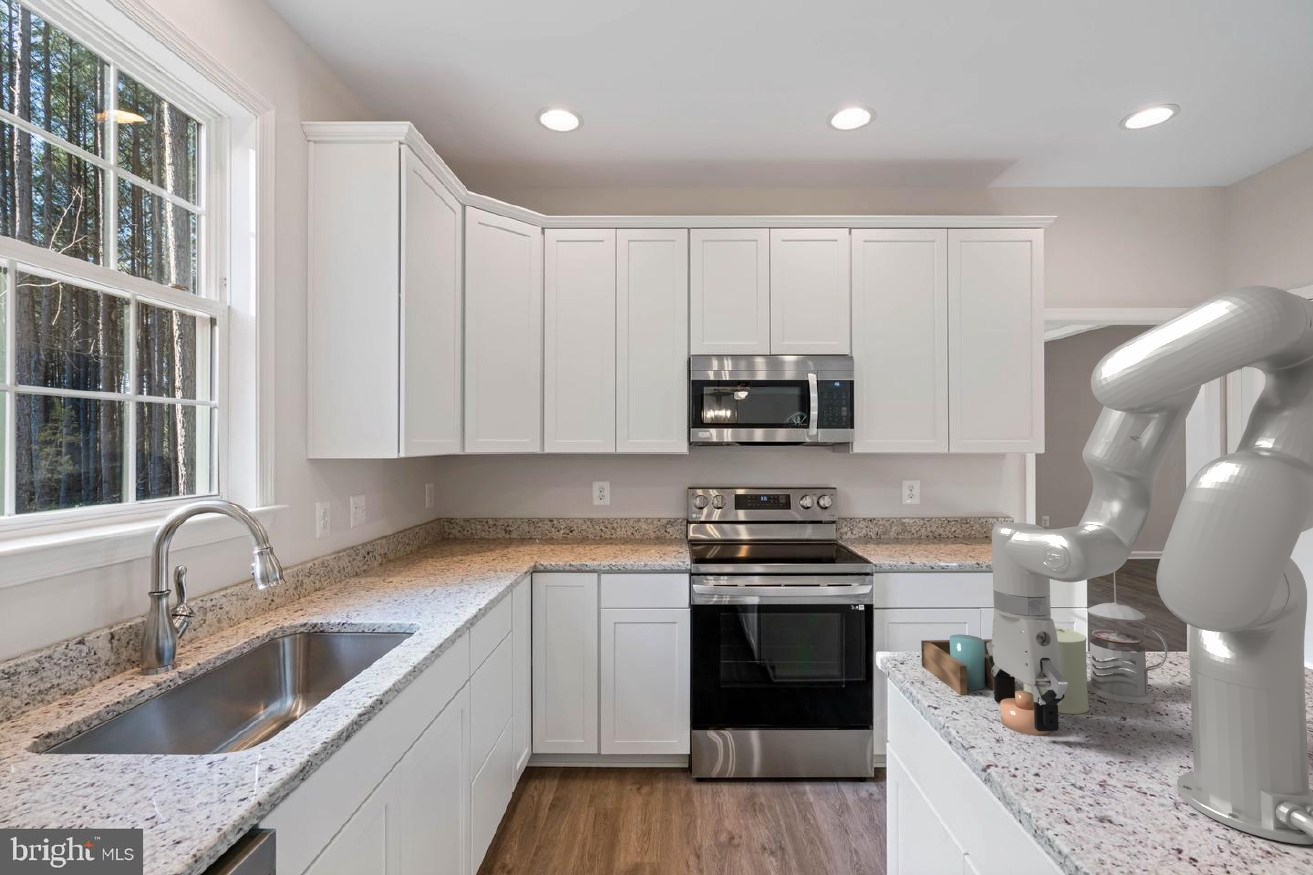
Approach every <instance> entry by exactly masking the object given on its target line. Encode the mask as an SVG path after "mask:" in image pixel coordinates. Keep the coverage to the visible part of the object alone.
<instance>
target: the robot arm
mask: <svg viewBox="0 0 1313 875" xmlns="http://www.w3.org/2000/svg"><path fill="white" fill-rule="evenodd" d="M1245 367H1246V368H1253V369H1257V370H1260V371H1261V372H1262V373H1263V374H1264V377H1265V378H1264V379H1265V382H1264V387H1263V388H1262V391H1261V392H1260V394H1259V396H1258V398H1257V400H1256V401H1255V403H1254V405H1253V407H1252V409H1251V411H1250V413H1249V417H1248V421H1247V424H1246V426H1245V429H1244V432H1243V434H1242V436H1241V439H1240V441H1239V443H1238V446H1237V448H1236V450H1235V452H1231V453H1228V454H1225V455H1222V456H1219V457H1217V458H1215V459H1213V460H1210V462H1208V463H1206V464H1204V466H1202V467H1201V468H1200V469H1199V470H1198V471H1197V472H1196V473H1195V475H1194V476H1193V477H1192V479H1191V480H1190V482H1189V483H1188V485H1187V488H1186V489H1185V491H1184V494H1183V495H1182V496H1183V497H1182V499H1181V501H1180V504H1179V507H1178V510H1177V512H1176V516H1175V518H1174V520H1173V523H1172V526H1171V529H1170V532H1169V534H1168V536H1167V540H1166V542H1165V546H1164V548H1163V550H1162V554H1161V556H1160V559H1159V562H1158V567H1157V569H1156V570H1157V571H1156V588H1157V592H1158V595H1159V597H1160V599H1161V600H1162V603H1163V604H1164V605H1165V606H1166V608H1167V609H1168V610H1169V611H1170V613H1172V614H1173V615H1174V616H1175V617H1176V618H1177V619H1179V620H1180V621H1182V622H1183V623H1185V624H1187V625H1189V626H1190V630H1189V640H1188V641H1189V644H1188V645H1189V647H1188V649H1189V650H1188V651H1189V653H1188V654H1189V655H1188V656H1189V677H1190V678H1189V681H1190V683H1189V684H1190V687H1189V688H1190V706H1191V707H1190V708H1191V712H1190V713H1191V732H1192V734H1191V736H1192V737H1191V738H1192V757H1193V758H1192V759H1193V762H1192V763H1193V771H1190V772H1185V773H1184V774H1181V775H1179V777H1178V778H1177V781H1176V782H1177V786H1176V787H1177V792H1178V794H1179V795H1180V797H1181V798H1182V799H1183V800H1185V801H1186V802H1187V804H1188V805H1190V806H1191V807H1193V808H1194V809H1196V810H1197V811H1198V812H1200V813H1201V814H1204V815H1205V816H1207V817H1209V818H1211V819H1213V820H1215V821H1217V822H1219V823H1221V824H1224V825H1226V826H1228V827H1231V828H1234V829H1235V830H1239V831H1242V832H1245V833H1248V834H1251V835H1254V836H1258V837H1261V838H1265V839H1268V840H1274V841H1278V842H1281V843H1282V842H1283V843H1288V844H1296V845H1313V790H1311V789H1310V773H1309V755H1308V754H1309V750H1308V729H1307V726H1308V725H1307V709H1306V706H1307V705H1306V676H1305V674H1306V673H1305V672H1306V671H1305V668H1306V667H1305V634H1306V624H1307V623H1306V622H1307V621H1306V620H1307V612H1308V611H1307V610H1308V591H1307V590H1308V588H1307V583H1306V581H1305V577H1304V574H1303V573H1302V571H1301V569H1300V567H1299V565H1297V563H1296V561H1294V560H1293V558H1292V554H1293V551H1294V550H1295V548H1296V544H1298V540H1299V538H1300V536H1301V533H1303V532H1306V531H1308V530H1311V529H1313V301H1312V300H1310V299H1308V298H1306V297H1304V296H1301V295H1298V294H1294V293H1292V292H1289V291H1287V290H1284V289H1282V288H1278V287H1275V286H1274V287H1273V286H1267V285H1246V286H1239V287H1235V288H1232V289H1229V290H1226V291H1223V292H1220V293H1218V294H1215V295H1213V296H1211V297H1208V298H1207V299H1204V300H1203V301H1201V302H1199V303H1197V304H1195V305H1193V306H1191V307H1189V308H1187V309H1185V310H1183V311H1182V312H1180V313H1178V314H1176V315H1175V316H1172V317H1170V318H1168V319H1167V320H1166V321H1163V322H1161V323H1159V324H1157V325H1155V326H1154V327H1152V328H1150V329H1148V330H1146V331H1144V332H1142V333H1140V334H1138V335H1137V336H1134V337H1132V338H1131V339H1129V340H1127V341H1125V342H1123V343H1122V344H1120V345H1118V346H1117V347H1115V348H1113V349H1111V351H1109V352H1108V353H1106V354H1105V355H1104V356H1103V357H1102V358H1101V359H1100V360H1099V361H1098V363H1097V364H1096V366H1095V367H1094V369H1093V371H1092V373H1091V377H1090V388H1091V391H1092V394H1093V396H1094V397H1095V399H1096V400H1097V401H1098V402H1099V403H1100V404H1101V405H1102V406H1103V407H1102V409H1101V412H1100V414H1099V415H1098V418H1097V420H1096V423H1095V425H1094V427H1093V429H1092V431H1091V432H1090V435H1089V437H1088V439H1087V441H1086V443H1085V446H1084V448H1083V450H1082V454H1081V456H1082V459H1083V462H1084V464H1085V465H1086V468H1087V469H1088V471H1089V472H1090V475H1091V477H1092V484H1093V485H1092V493H1091V497H1090V499H1089V502H1088V504H1087V507H1086V509H1085V511H1084V514H1083V516H1082V518H1081V519H1080V521H1079V523H1078V525H1075V526H1070V527H1069V526H1068V527H1064V528H1063V527H1062V528H1055V529H1053V528H1051V529H1045V527H1043V526H1041V525H1038V524H1032V523H1022V522H1003V523H999V524H996V525H995V526H994V527H993V528H992V529H991V530H992V531H991V549H992V550H991V556H992V559H991V560H992V585H993V586H992V587H993V588H992V589H993V590H992V591H993V593H992V594H993V620H992V635H991V639H992V641H991V642H988V643H987V644H986V645H987V649H988V653H989V655H990V656H989V661H990V663H991V665H992V667H993V668H992V670H991V672H992V674H993V676H996V677H994V690H993V696H994V697H993V699H994V701H995V702H996V703H998V704H1001V700H1003V699H1007V698H1015V691H1016V680H1018V681H1020V682H1022V683H1023V684H1024V683H1025V684H1027V685H1029V686H1031V688H1032V690H1033V693H1034V695H1035V697H1036V699H1037V702H1034V723H1035V729H1036V730H1038V731H1050V732H1057V731H1059V729H1060V728H1059V713H1058V705H1060V704H1061V700H1062V699H1064V693H1065V691H1066V689H1067V686H1068V684H1067V682H1066V680H1065V679H1064V678H1063V677H1062V675H1061V663H1060V653H1059V645H1058V638H1057V633H1056V629H1055V627H1056V626H1055V623H1054V619H1053V618H1051V617H1052V611H1051V610H1052V609H1051V606H1052V605H1051V580H1052V581H1053V580H1054V581H1057V582H1062V583H1078V582H1083V581H1087V580H1091V579H1095V578H1099V577H1102V576H1106V575H1110V574H1112V573H1113V574H1114V572H1115V573H1116V572H1117V570H1119V569H1120V568H1121V567H1123V565H1124V564H1126V562H1127V561H1128V559H1129V557H1130V556H1131V554H1132V552H1133V551H1134V548H1135V547H1136V545H1137V543H1138V541H1139V539H1140V537H1141V536H1142V533H1143V532H1144V530H1145V528H1146V525H1147V523H1148V521H1149V518H1150V514H1151V511H1152V506H1153V500H1154V498H1155V492H1156V480H1157V477H1158V474H1159V472H1160V470H1161V468H1162V465H1163V464H1164V462H1165V460H1166V458H1167V456H1168V453H1169V452H1170V451H1171V448H1172V446H1173V444H1174V442H1175V441H1176V438H1177V436H1178V434H1179V433H1180V431H1181V429H1182V426H1183V425H1184V424H1185V421H1186V419H1187V418H1188V415H1189V414H1190V412H1191V410H1192V407H1193V405H1194V404H1195V402H1196V400H1197V398H1198V396H1199V394H1200V391H1201V388H1202V386H1203V385H1205V384H1208V383H1210V382H1212V381H1214V380H1217V379H1219V378H1221V377H1222V378H1223V376H1227V375H1228V374H1232V373H1233V372H1235V371H1237V370H1240V369H1243V368H1245ZM1036 679H1043V680H1044V681H1036ZM1040 687H1046V689H1047V692H1046V693H1044V694H1043V693H1042V691H1041V689H1040Z"/></svg>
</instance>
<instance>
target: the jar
mask: <svg viewBox="0 0 1313 875" xmlns="http://www.w3.org/2000/svg"><path fill="white" fill-rule="evenodd" d="M949 640H950V656H952V657H954V658H955V659H957V660H958V661H960V662H961V663H963V664H964V665H966V667H967V690H976V691H977V690H983V689H985V688H986V686H987V685H986V684H985V649H984V640H983V639H982V638H981V637H978V636H976V635H975V636H974V635H969V634H960V633H959V634H952V635H949Z"/></svg>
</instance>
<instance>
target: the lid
mask: <svg viewBox="0 0 1313 875" xmlns="http://www.w3.org/2000/svg"><path fill="white" fill-rule="evenodd" d="M1000 723H1001V724H1002V725H1003V726H1004V727H1005V728H1007V729H1009V730H1011V731H1013V732H1015V733H1019V734H1023V735H1028V736H1035V737H1036V736H1037V737H1040V736H1045V735H1049V733H1051V731H1038V730H1036V729H1035V723H1034V699H1033V694H1032V693H1030V692H1027V691H1024V690H1015V698H1007V699H1003V700H1001V703H1000Z"/></svg>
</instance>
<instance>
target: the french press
mask: <svg viewBox="0 0 1313 875" xmlns="http://www.w3.org/2000/svg"><path fill="white" fill-rule="evenodd" d="M1116 587H1117V586H1116V571H1115V572H1113V590H1114V591H1113V593H1114V594H1113V596H1114V597H1113V598H1114V602H1111V603H1110V602H1103V603H1099V604H1095V605H1093V606H1091V607H1088V608H1087V610H1086V611H1087V612H1088V614H1089V615H1091V616H1093V617H1096V618H1100V619H1103V620H1108V621H1114V624H1115V630H1110V629H1097V630H1093V631H1092V632H1090V633H1091V635H1092V637H1093V638H1091V639H1089V657H1090V658H1089V660H1090V662H1089V663H1090V666H1089V667H1090V680H1087V692H1089V693H1092V694H1093V693H1096V694H1098V695H1099V697H1100V696H1102V697H1101V698H1104V697H1105V698H1104V699H1107V698H1108V699H1107V700H1111V699H1112V701H1115V702H1120V701H1121V702H1122V703H1127V704H1135V705H1136V704H1139V705H1143V704H1145V703H1146V704H1152V703H1153V702H1154V701H1153V700H1154V698H1155V696H1154V695H1153V694H1152V693H1151V691H1149V676H1148V675H1149V674H1148V672H1149V671H1153V670H1158V669H1159V668H1161V667H1162V666H1163V665H1164V664H1165V662H1166V660H1167V657H1168V648H1169V647H1168V642H1167V641H1166V639H1165V637H1164V636H1163V634H1162V633H1161V632H1160V631H1159V630H1157V629H1156V628H1155V627H1153V626H1152V625H1150V624H1144V625H1143V627H1142V634H1143V635H1146V633H1147V630H1149V631H1151V632H1153V633H1155V635H1157V637H1159V639H1160V640H1161V642H1162V644H1163V647H1164V657H1163V658H1162V660H1161V662H1159V663H1157V664H1154V665H1149V666H1147V665H1146V648H1145V647H1144V646H1143V645H1141V644H1142V643H1143V642H1144V640H1143V638H1142V637H1141V636H1137V634H1136V635H1135V634H1131V633H1128V632H1124V631H1118V624H1117V623H1118V622H1123V623H1127V622H1128V623H1140V622H1142V621H1145V619H1146V615H1145V614H1143V613H1142V612H1141V611H1139V610H1137V609H1135V608H1133V607H1132V606H1131V607H1130V606H1128V605H1125V604H1120V603H1117V589H1116ZM1119 647H1120V648H1121V647H1122V648H1129V649H1131V650H1133V652H1132V651H1130V650H1121V649H1118V650H1113V649H1116V648H1119ZM1134 651H1135V652H1134ZM1097 659H1098V660H1097ZM1105 659H1106V660H1105ZM1107 659H1108V660H1107ZM1096 694H1095V695H1096ZM1098 695H1097V696H1098ZM1153 696H1154V697H1153ZM1152 701H1153V702H1152ZM1121 702H1120V703H1121Z"/></svg>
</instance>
